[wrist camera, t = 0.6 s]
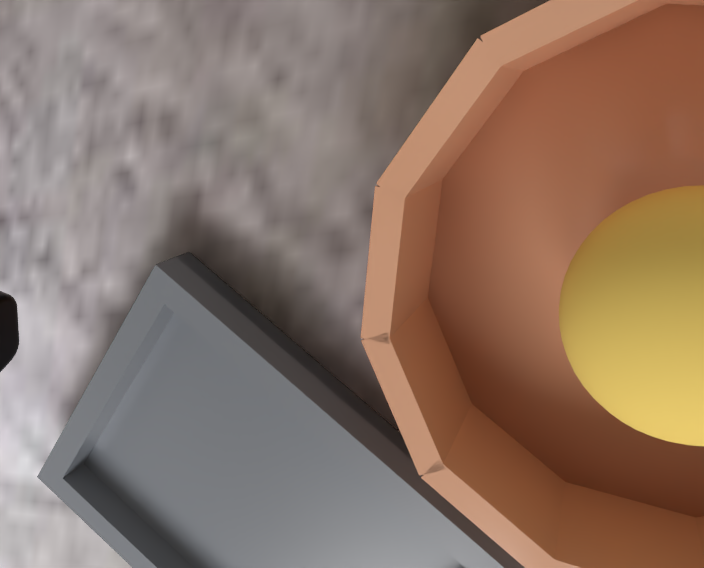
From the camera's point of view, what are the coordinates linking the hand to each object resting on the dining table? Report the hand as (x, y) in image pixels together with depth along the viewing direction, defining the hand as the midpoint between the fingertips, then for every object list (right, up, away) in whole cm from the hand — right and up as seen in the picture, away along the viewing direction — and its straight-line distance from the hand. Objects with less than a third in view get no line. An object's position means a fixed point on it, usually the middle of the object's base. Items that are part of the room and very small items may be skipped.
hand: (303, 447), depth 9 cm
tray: (-2, -6, +18) cm, 19 cm away
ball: (+9, +1, +7) cm, 11 cm away
